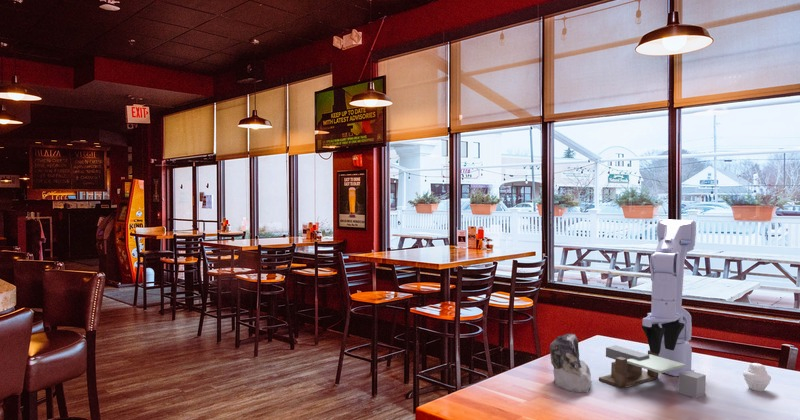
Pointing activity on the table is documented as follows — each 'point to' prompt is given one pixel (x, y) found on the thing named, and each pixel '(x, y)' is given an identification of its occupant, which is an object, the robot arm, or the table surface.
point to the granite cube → (692, 383)
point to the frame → (628, 373)
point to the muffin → (756, 377)
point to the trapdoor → (643, 359)
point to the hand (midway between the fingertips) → (662, 351)
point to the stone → (569, 364)
